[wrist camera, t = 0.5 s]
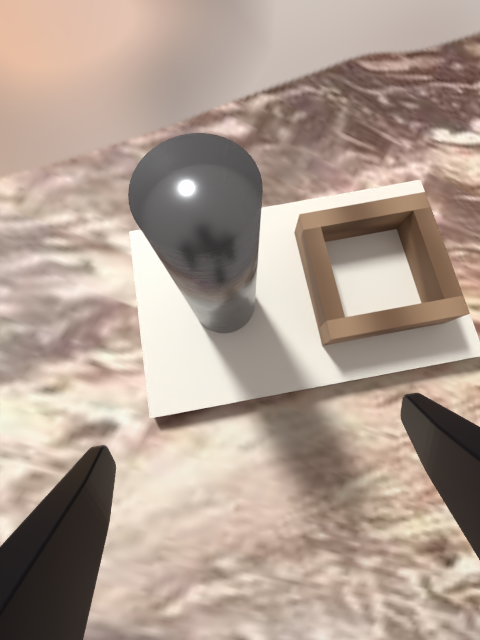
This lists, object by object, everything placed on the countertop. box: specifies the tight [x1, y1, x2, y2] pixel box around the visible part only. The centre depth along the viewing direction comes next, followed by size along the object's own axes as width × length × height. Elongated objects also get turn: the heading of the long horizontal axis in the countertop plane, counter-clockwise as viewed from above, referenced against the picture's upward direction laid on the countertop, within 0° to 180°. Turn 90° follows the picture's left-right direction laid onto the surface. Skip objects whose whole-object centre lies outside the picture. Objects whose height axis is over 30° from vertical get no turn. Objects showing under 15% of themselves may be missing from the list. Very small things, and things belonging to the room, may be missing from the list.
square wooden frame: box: [294, 192, 470, 346], centre depth 22 cm, size 9×9×2 cm
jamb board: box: [129, 180, 480, 418], centre depth 24 cm, size 23×14×1 cm, turn 100°
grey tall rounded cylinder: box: [128, 133, 262, 333], centre depth 17 cm, size 4×4×13 cm
